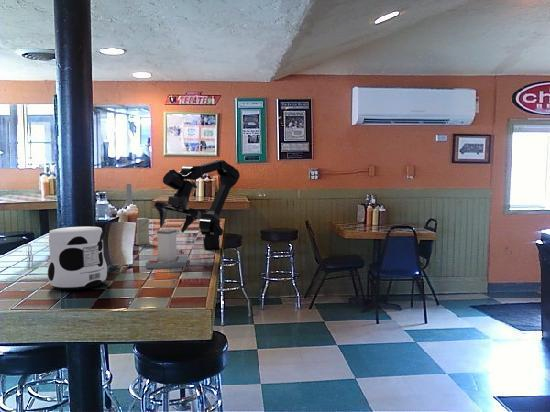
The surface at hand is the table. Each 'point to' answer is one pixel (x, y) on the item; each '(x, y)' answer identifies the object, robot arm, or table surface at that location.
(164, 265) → the socket plate
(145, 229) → the skincare box
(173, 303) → the table surface
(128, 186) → the bottle
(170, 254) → the plug
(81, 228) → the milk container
